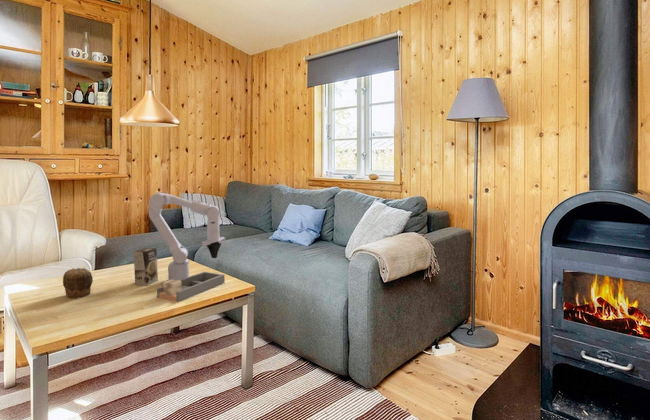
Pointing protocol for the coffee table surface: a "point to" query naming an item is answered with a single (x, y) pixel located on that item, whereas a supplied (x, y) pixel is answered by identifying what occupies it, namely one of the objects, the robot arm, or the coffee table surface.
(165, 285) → the cream block
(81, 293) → the dark brown rounded lump
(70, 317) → the coffee table surface
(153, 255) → the coffee box
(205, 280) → the tray
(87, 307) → the coffee table surface
